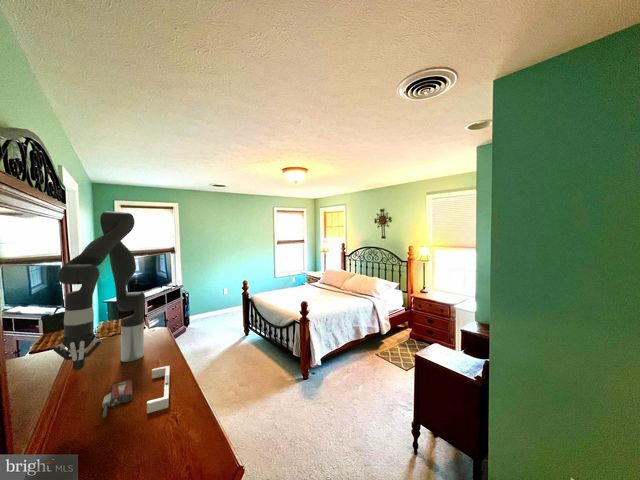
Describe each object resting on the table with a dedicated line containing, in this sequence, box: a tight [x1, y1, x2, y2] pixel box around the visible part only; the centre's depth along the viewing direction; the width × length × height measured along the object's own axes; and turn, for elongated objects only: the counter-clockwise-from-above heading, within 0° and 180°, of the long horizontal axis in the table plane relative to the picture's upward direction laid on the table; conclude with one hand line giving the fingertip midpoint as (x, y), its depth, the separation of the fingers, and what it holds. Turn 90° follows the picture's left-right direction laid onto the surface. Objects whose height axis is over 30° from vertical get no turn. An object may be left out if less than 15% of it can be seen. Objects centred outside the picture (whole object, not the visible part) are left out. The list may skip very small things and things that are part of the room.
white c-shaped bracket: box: [146, 365, 171, 414], centre depth 102 cm, size 26×6×4 cm, turn 30°
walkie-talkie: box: [101, 379, 134, 419], centre depth 95 cm, size 9×4×20 cm
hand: (78, 369), depth 89 cm, fingers closed
